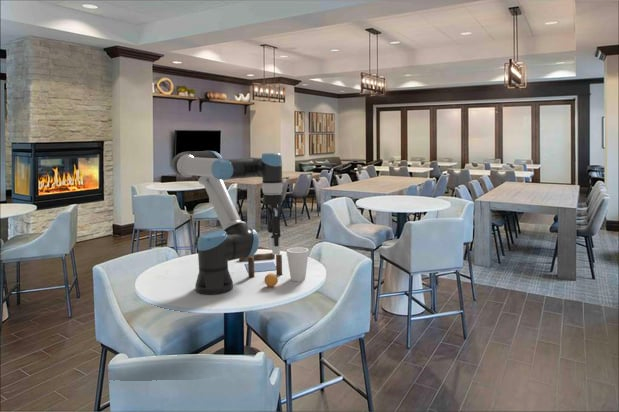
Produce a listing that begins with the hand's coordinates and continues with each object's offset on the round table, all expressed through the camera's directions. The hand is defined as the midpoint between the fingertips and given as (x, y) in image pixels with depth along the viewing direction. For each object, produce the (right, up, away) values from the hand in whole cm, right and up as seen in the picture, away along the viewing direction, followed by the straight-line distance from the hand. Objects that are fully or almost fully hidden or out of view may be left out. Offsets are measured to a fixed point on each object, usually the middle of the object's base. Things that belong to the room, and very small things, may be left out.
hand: (274, 251), depth 175 cm
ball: (-2, -13, +11) cm, 17 cm away
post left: (-12, -14, +25) cm, 31 cm away
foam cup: (+9, -14, +21) cm, 27 cm away
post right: (0, -13, +28) cm, 31 cm away
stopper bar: (-13, -10, +55) cm, 57 cm away
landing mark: (-9, -12, +40) cm, 43 cm away
